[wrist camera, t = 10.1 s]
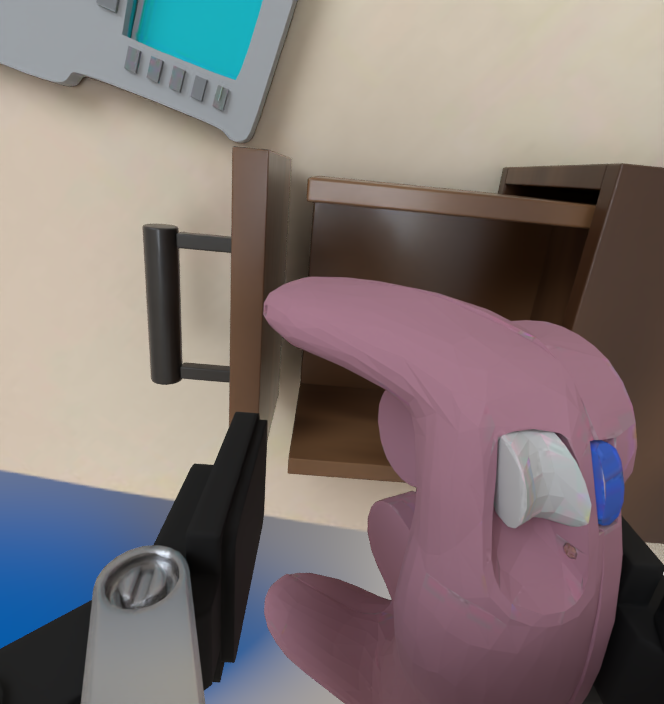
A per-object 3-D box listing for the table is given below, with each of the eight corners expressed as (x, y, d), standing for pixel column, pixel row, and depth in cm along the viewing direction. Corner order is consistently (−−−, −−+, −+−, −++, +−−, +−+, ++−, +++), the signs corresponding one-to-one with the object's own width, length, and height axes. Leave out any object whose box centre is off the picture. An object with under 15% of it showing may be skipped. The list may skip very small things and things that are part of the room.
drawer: (188, 387, 28) (127, 478, 20) (182, 147, 23) (97, 132, 15) (508, 414, 28) (580, 512, 20) (569, 185, 23) (696, 193, 15)
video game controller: (388, 558, 15) (578, 807, 9) (253, 609, 13) (388, 967, 7) (425, 255, 11) (772, 351, 6) (247, 261, 9) (504, 419, 4)
